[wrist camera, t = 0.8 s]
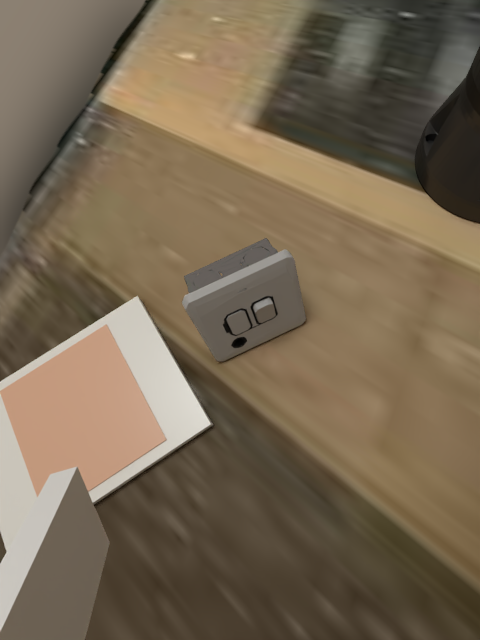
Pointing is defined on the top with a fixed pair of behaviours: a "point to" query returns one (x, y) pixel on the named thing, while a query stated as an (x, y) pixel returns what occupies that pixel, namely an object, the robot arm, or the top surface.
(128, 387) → the mounting plate
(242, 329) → the electrical switch
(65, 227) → the top surface
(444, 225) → the top surface
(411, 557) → the top surface
